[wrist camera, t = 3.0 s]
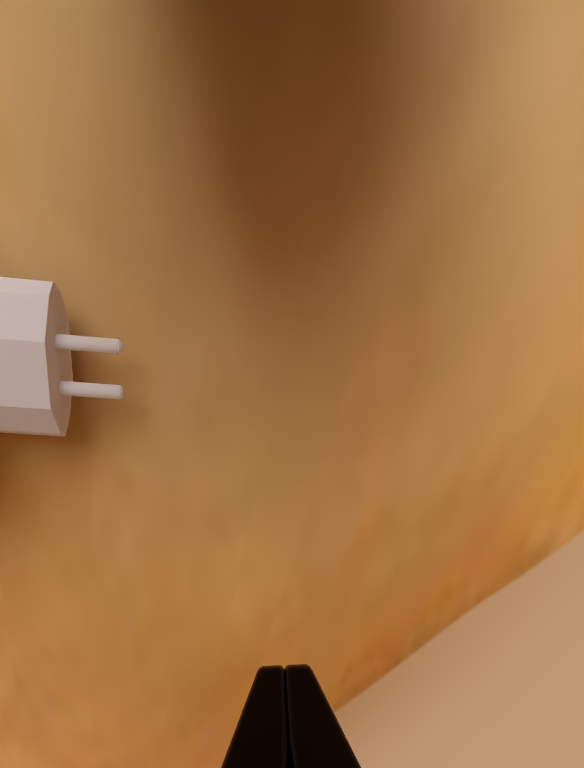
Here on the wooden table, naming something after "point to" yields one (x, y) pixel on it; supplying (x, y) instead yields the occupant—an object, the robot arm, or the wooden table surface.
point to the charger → (42, 359)
